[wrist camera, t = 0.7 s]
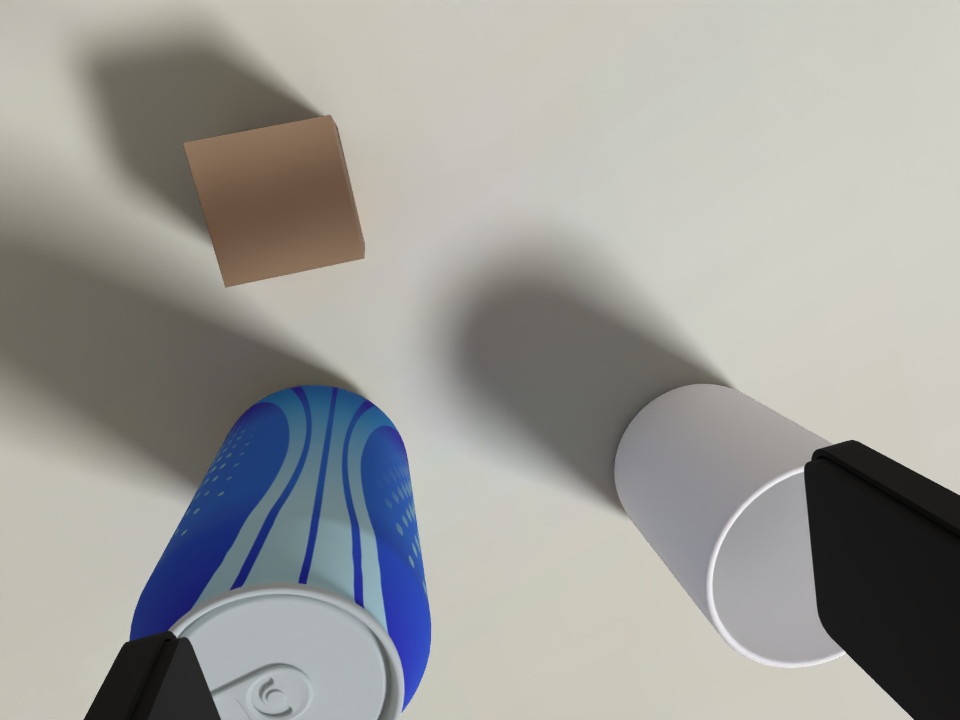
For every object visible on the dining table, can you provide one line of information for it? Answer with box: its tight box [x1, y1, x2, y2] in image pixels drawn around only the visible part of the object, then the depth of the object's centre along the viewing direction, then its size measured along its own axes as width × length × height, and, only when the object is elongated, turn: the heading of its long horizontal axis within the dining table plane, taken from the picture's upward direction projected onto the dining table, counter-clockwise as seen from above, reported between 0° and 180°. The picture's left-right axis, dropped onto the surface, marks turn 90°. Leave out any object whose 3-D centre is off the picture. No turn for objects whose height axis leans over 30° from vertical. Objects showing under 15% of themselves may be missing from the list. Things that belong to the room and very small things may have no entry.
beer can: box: [130, 385, 431, 720], centre depth 26 cm, size 8×8×16 cm
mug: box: [614, 384, 846, 668], centre depth 32 cm, size 9×12×11 cm
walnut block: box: [183, 115, 365, 288], centre depth 27 cm, size 5×5×6 cm
